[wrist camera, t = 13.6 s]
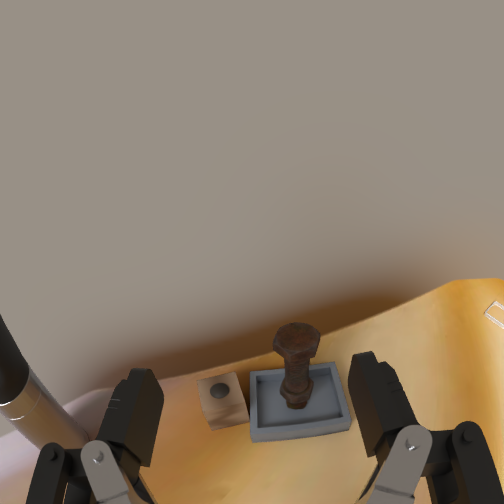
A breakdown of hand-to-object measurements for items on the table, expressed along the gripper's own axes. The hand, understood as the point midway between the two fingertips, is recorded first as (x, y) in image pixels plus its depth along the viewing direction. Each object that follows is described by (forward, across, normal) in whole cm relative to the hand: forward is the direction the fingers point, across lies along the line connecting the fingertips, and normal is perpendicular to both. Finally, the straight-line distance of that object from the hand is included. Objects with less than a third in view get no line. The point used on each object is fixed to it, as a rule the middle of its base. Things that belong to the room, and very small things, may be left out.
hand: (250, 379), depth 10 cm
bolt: (+17, -4, +29) cm, 34 cm away
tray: (+17, -4, +30) cm, 35 cm away
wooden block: (+17, +7, +30) cm, 35 cm away
